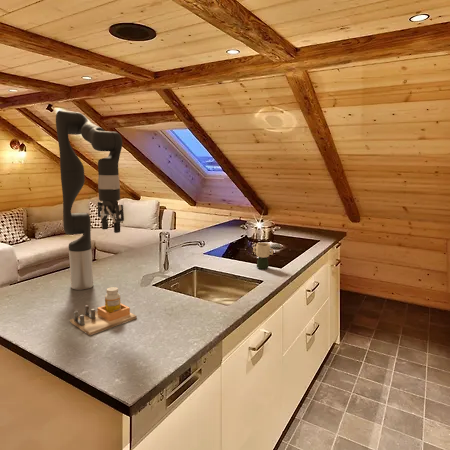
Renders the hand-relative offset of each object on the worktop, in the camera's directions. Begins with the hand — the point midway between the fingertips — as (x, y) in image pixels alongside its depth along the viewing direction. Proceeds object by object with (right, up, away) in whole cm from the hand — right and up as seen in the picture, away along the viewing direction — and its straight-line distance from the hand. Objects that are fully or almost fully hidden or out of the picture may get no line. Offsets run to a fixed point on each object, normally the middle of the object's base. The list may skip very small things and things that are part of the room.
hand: (111, 230), depth 137 cm
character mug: (+63, -21, +58) cm, 88 cm away
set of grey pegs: (-6, -31, -9) cm, 33 cm away
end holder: (+2, -31, -3) cm, 32 cm away
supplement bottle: (+2, -30, -3) cm, 31 cm away
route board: (-1, -32, -6) cm, 32 cm away
